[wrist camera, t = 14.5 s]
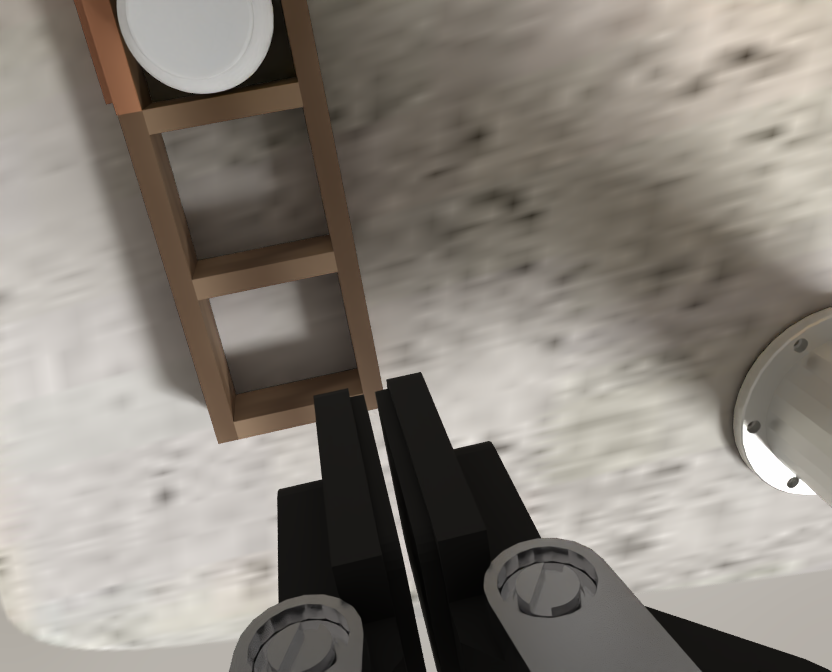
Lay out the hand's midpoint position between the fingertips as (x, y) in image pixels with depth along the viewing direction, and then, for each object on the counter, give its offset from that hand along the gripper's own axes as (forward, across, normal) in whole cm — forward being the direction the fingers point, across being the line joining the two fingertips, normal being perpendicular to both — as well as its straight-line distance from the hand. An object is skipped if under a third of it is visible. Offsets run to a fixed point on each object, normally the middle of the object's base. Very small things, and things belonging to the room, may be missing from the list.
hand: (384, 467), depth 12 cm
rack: (+27, +3, 0) cm, 27 cm away
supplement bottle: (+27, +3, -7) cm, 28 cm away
